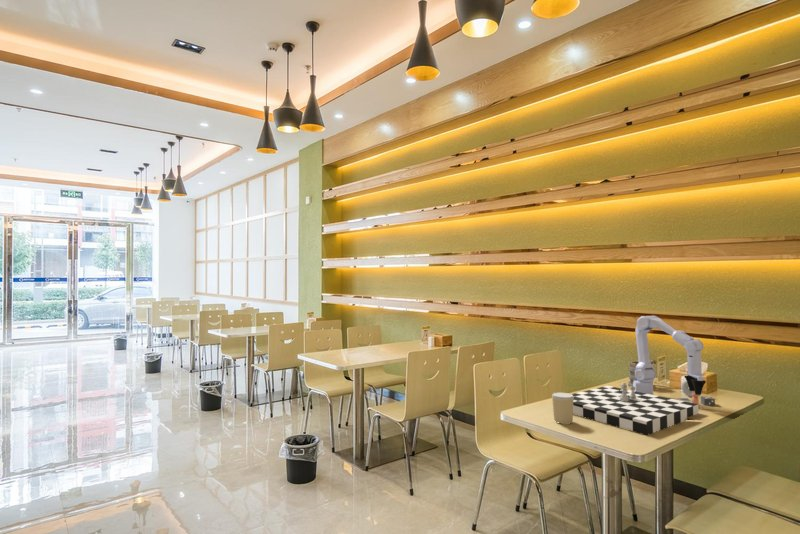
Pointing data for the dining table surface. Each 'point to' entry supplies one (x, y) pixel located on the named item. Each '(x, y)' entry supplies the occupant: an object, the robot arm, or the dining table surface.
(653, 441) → the dining table surface
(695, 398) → the pawn
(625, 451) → the dining table surface
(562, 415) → the coffee cup
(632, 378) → the tankard
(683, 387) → the donut
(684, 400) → the track board
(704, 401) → the die
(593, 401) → the checkerboard
